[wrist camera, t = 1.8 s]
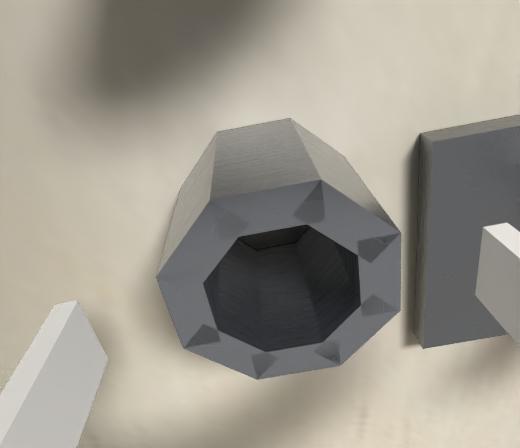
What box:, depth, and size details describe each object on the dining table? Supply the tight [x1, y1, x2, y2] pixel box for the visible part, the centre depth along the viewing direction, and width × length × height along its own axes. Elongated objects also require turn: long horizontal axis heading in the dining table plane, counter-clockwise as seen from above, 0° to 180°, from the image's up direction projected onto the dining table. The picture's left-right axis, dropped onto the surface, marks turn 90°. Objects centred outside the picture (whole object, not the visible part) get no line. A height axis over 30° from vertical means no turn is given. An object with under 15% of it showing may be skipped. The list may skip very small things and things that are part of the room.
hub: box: [156, 118, 401, 380], centre depth 15 cm, size 7×7×6 cm
